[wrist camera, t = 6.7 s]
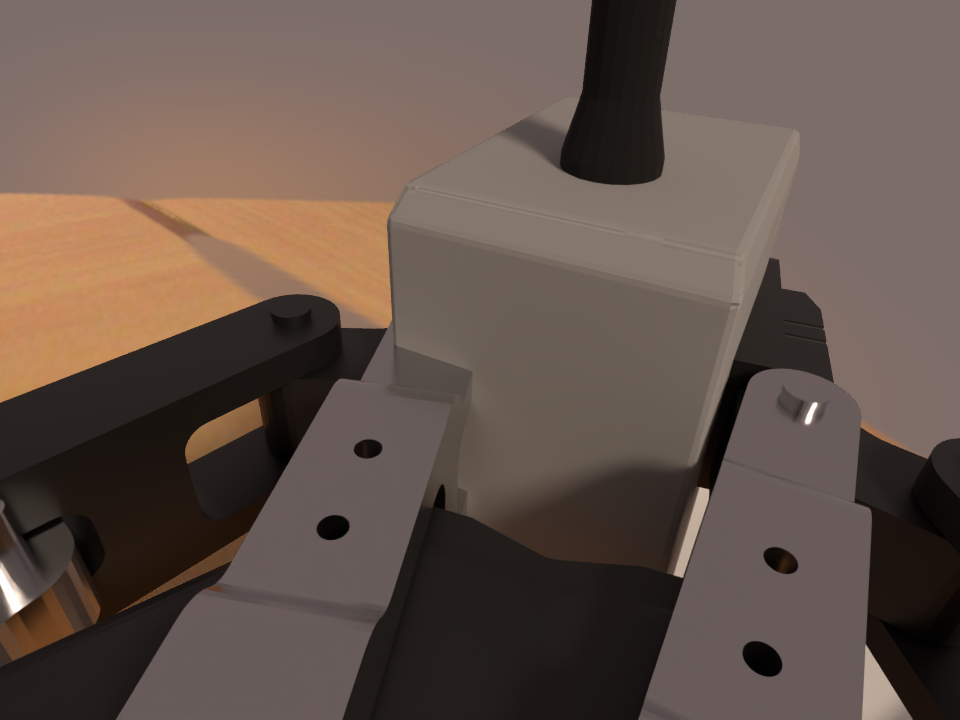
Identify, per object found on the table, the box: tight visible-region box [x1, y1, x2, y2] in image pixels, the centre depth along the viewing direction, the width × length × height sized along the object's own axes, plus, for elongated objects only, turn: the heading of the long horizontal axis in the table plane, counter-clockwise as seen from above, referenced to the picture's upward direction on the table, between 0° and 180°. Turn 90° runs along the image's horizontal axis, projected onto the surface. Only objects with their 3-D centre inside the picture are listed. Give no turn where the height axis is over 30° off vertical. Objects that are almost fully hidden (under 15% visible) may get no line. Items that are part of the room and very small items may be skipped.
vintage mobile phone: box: [387, 0, 800, 575], centre depth 11 cm, size 4×5×25 cm
